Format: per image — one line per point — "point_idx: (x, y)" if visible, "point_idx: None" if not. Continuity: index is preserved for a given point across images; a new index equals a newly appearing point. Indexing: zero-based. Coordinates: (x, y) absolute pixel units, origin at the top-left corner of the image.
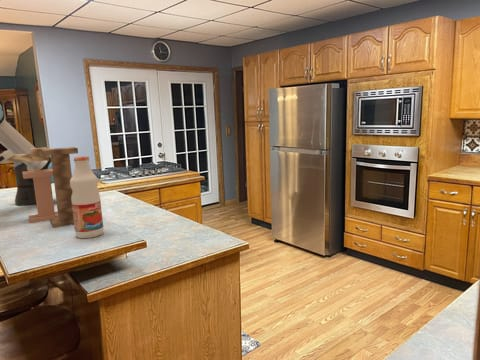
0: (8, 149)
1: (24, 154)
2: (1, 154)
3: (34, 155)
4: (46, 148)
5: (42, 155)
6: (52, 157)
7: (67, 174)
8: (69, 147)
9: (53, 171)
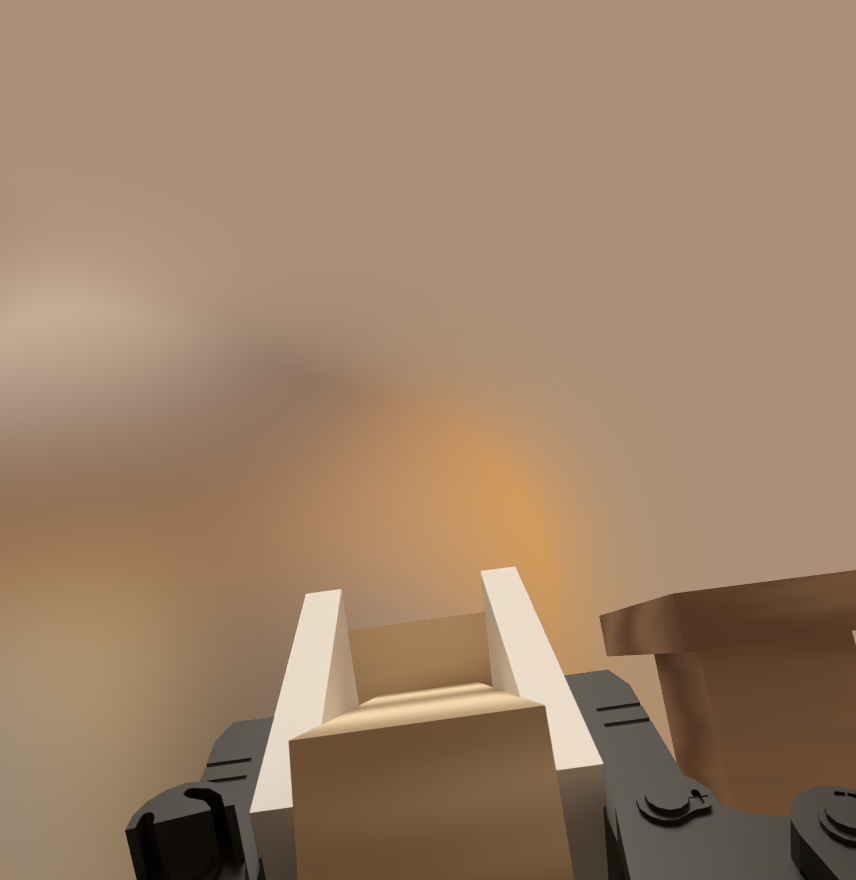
0: (339, 594)
1: (480, 684)
2: (547, 646)
3: None
4: None
5: None
6: (852, 655)
7: None
8: (607, 613)
9: None
